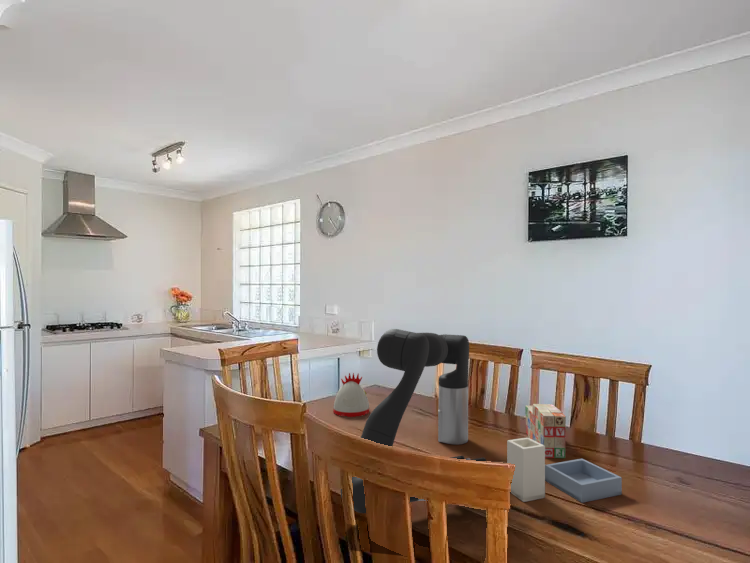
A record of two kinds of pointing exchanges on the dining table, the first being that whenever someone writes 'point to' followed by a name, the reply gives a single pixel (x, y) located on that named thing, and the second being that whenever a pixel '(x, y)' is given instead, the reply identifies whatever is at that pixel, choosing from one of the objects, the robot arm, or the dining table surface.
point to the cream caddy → (527, 468)
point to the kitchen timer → (351, 399)
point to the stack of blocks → (547, 428)
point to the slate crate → (583, 480)
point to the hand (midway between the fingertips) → (495, 469)
